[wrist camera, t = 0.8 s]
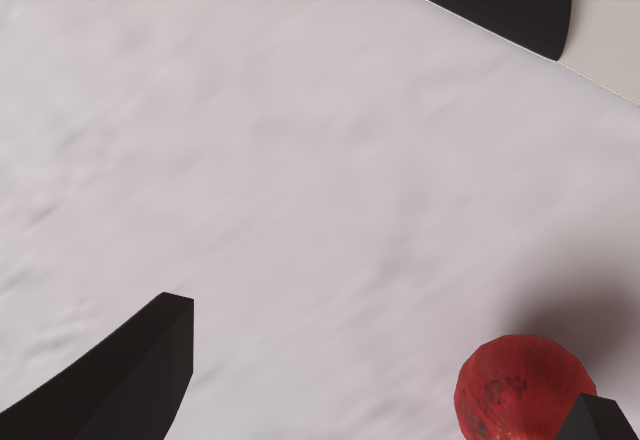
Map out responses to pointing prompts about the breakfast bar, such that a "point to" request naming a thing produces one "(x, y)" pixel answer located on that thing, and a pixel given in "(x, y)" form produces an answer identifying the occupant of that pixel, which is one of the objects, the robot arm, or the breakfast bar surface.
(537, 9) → the kitchen cleaver
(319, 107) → the breakfast bar surface
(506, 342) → the onion
